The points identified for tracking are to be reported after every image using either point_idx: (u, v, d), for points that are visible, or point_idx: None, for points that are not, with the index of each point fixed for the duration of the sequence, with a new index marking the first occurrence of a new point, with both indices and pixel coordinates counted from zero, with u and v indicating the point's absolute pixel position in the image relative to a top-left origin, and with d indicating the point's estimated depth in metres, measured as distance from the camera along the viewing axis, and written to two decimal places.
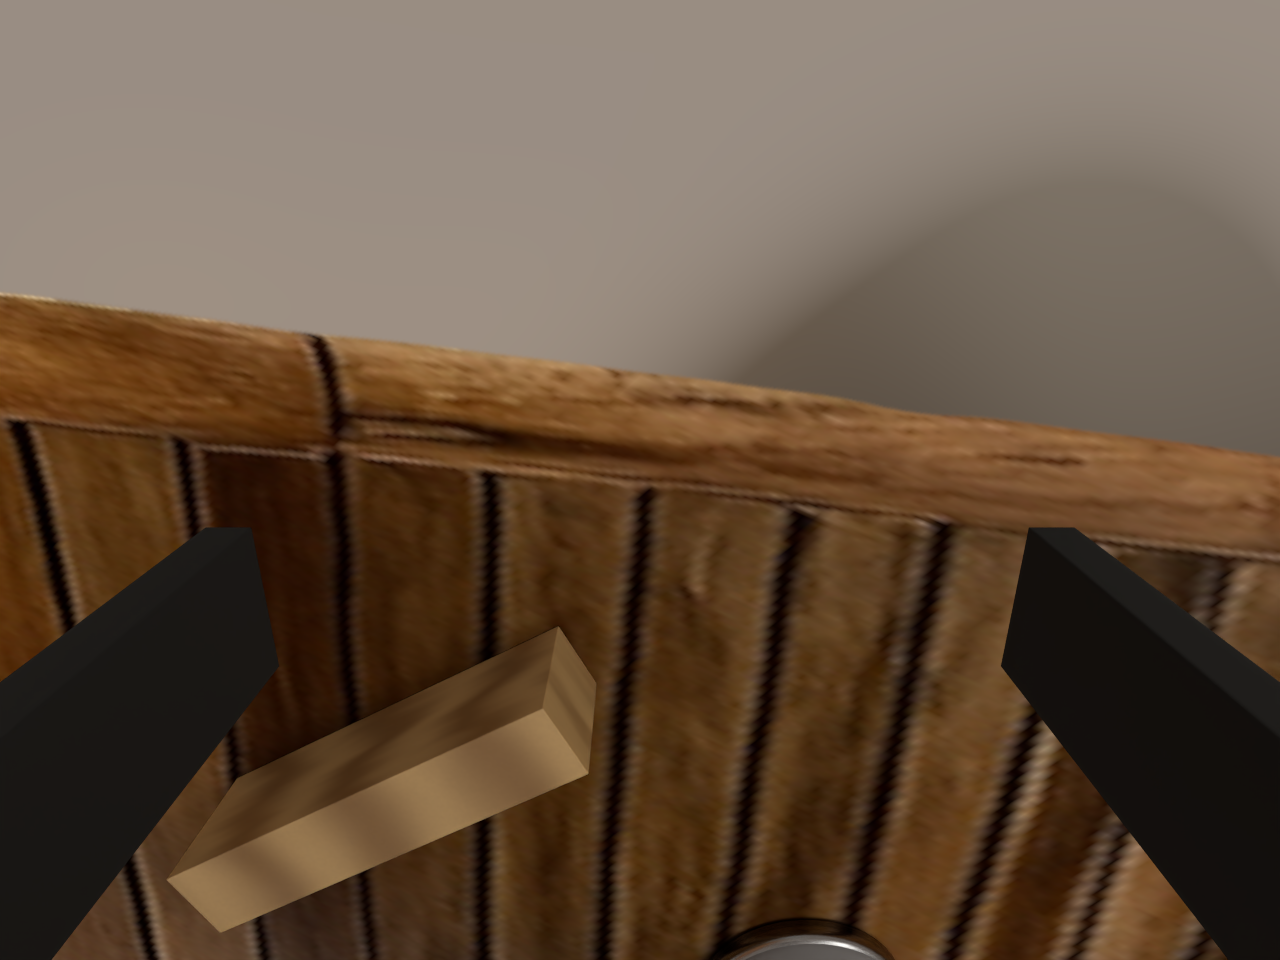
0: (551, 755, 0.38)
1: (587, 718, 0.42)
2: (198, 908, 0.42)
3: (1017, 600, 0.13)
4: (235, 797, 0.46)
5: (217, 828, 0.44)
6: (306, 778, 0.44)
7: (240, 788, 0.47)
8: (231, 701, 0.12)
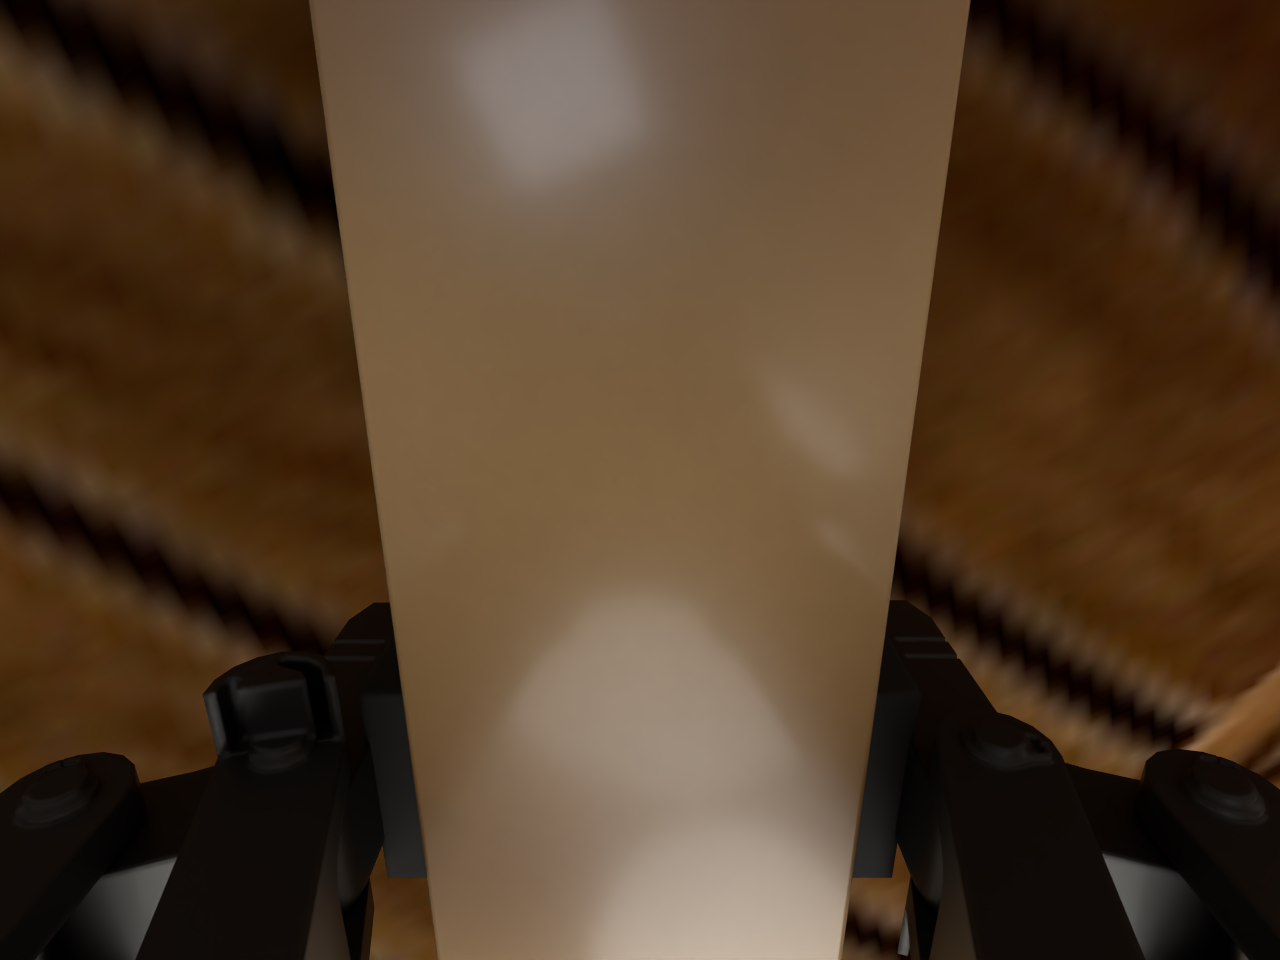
0: None
1: None
2: None
3: None
4: None
5: None
6: None
7: None
8: None
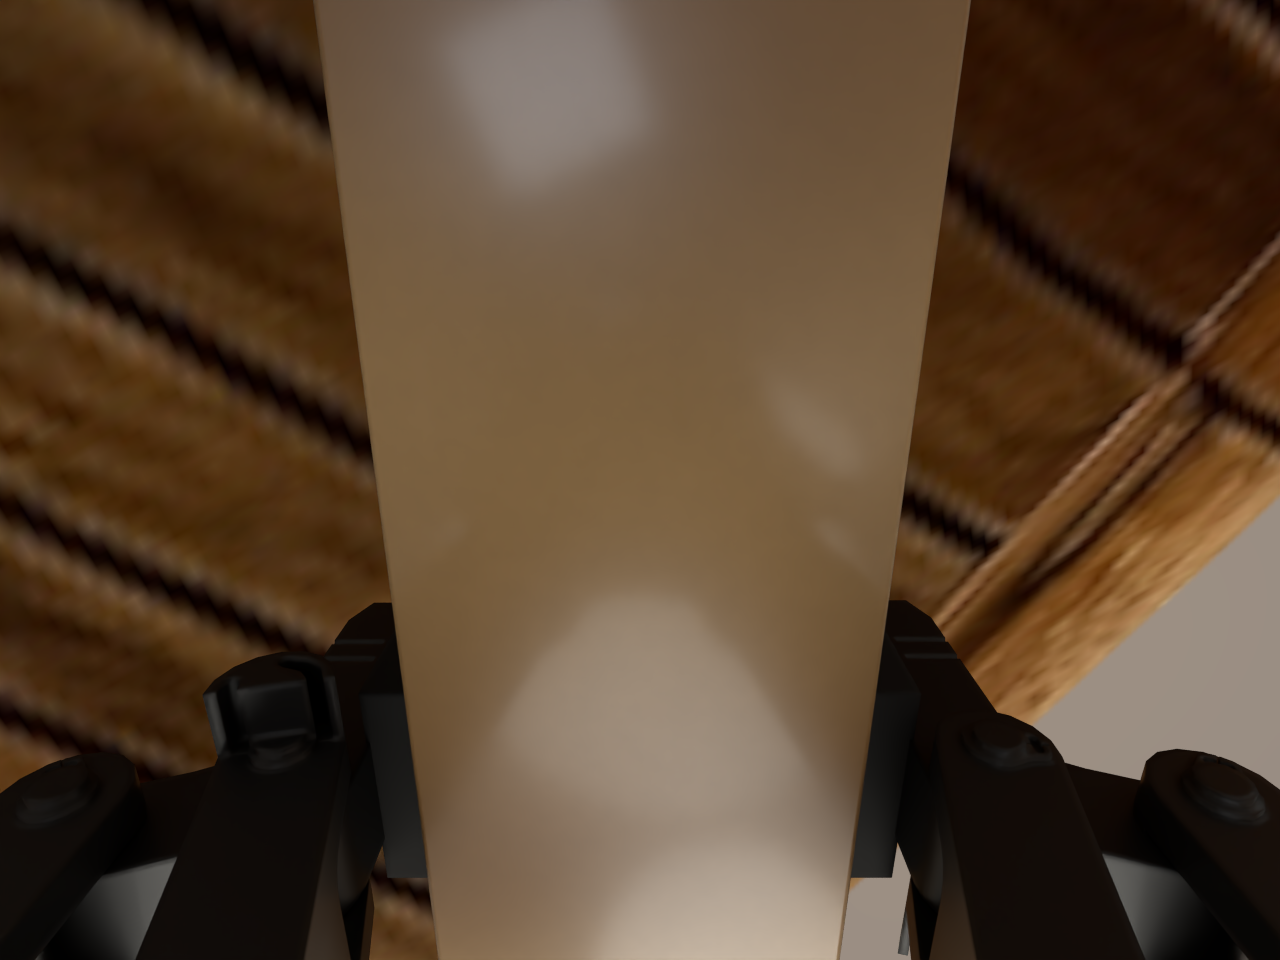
0: None
1: None
2: None
3: None
4: None
5: None
6: None
7: None
8: None
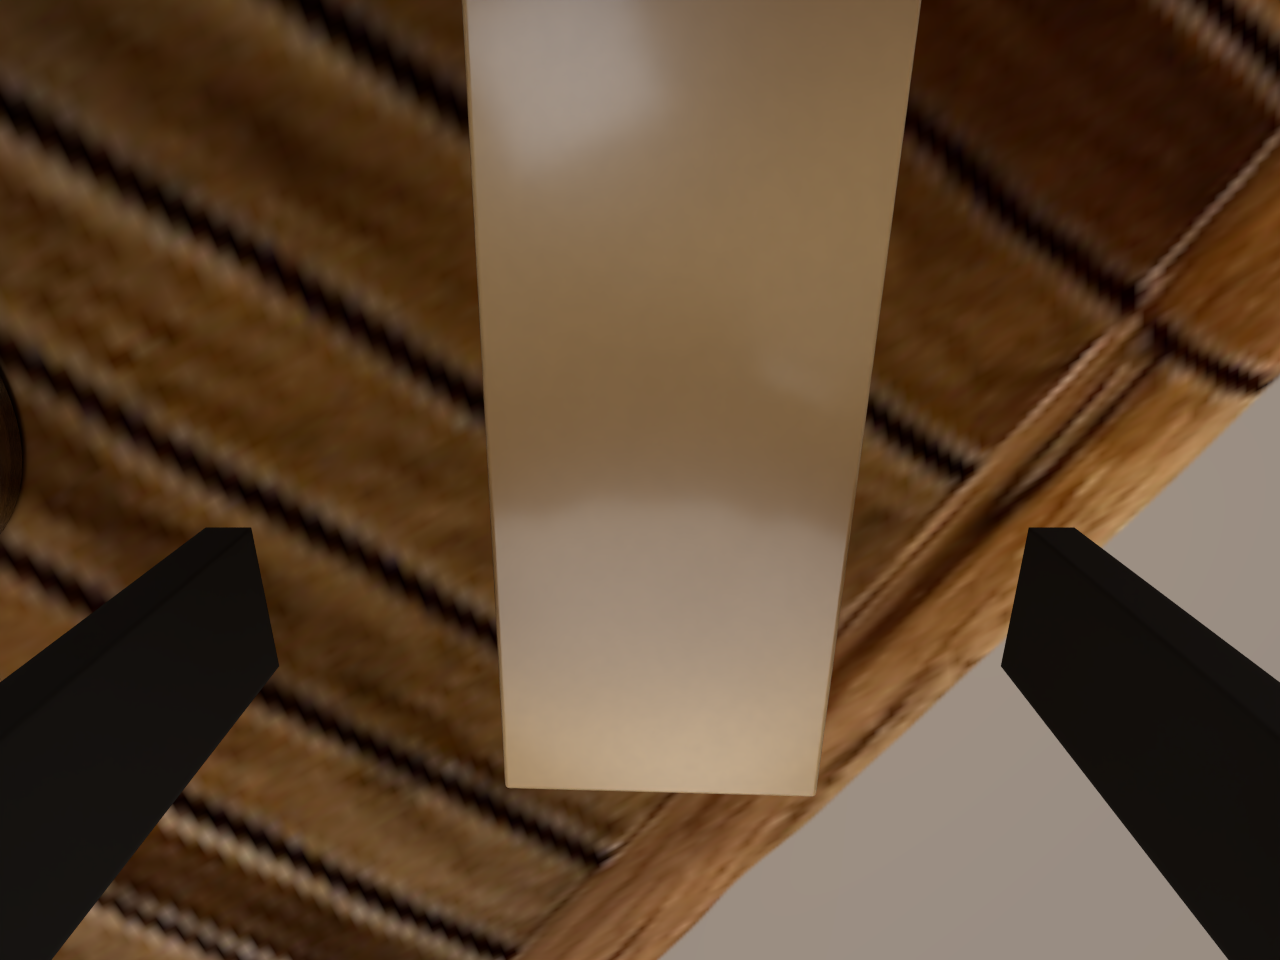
0: (637, 733, 0.11)
1: None
2: None
3: (1017, 600, 0.13)
4: None
5: None
6: None
7: None
8: (231, 701, 0.12)
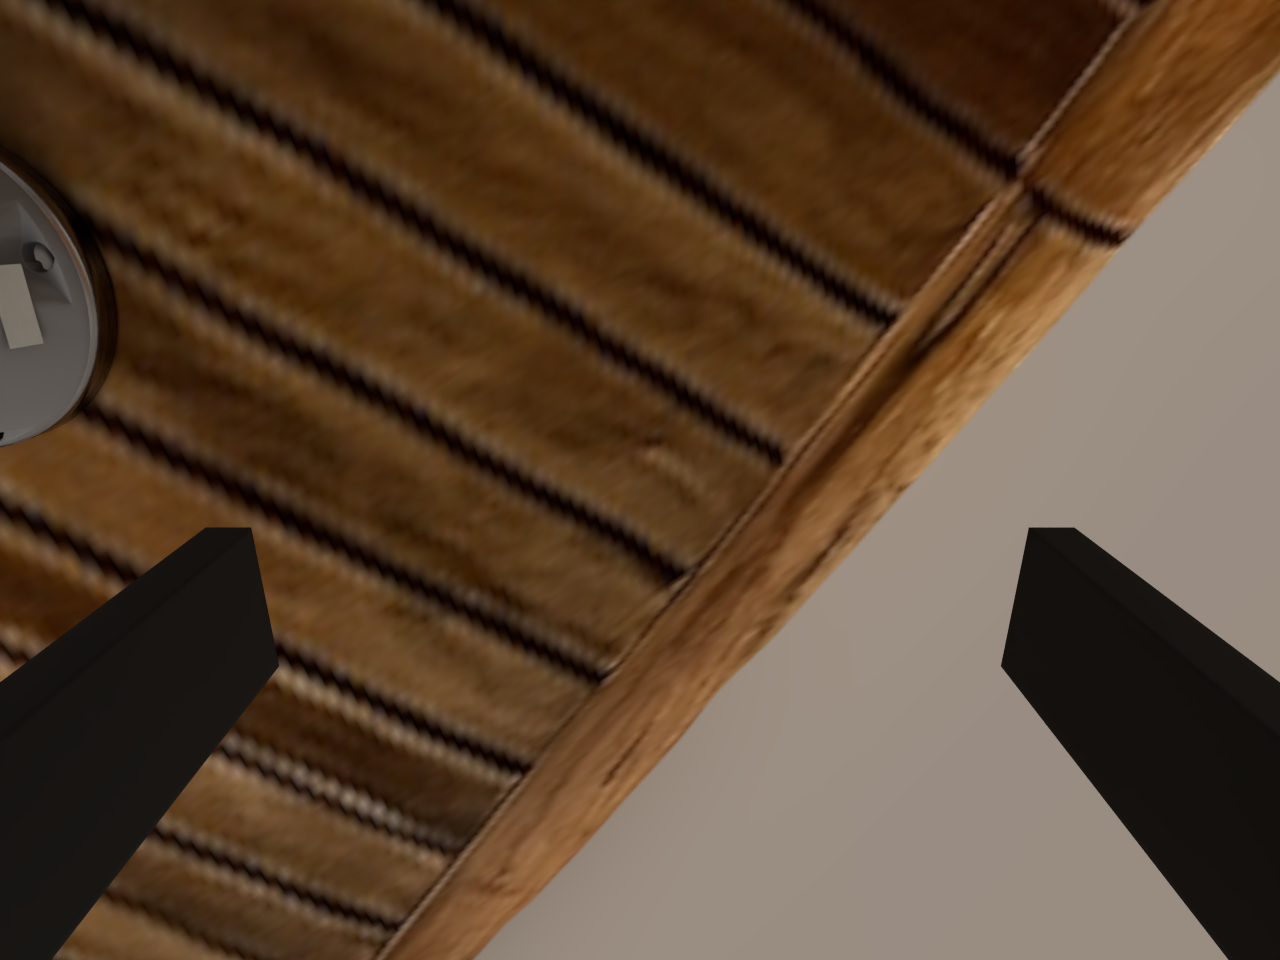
0: None
1: None
2: None
3: (1017, 600, 0.13)
4: None
5: None
6: None
7: None
8: (232, 701, 0.12)
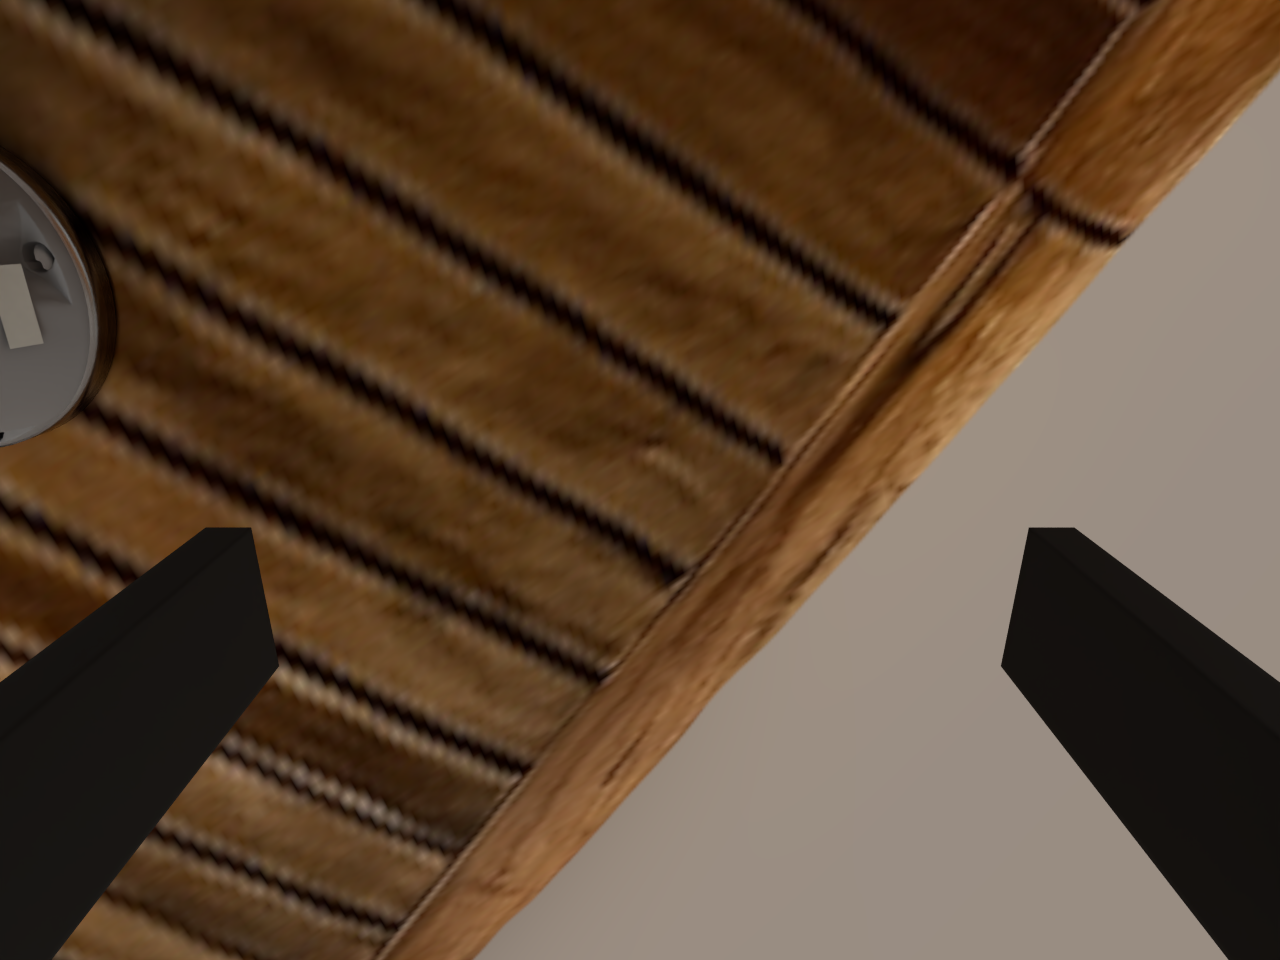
0: None
1: None
2: None
3: (1017, 600, 0.13)
4: None
5: None
6: None
7: None
8: (232, 701, 0.12)
